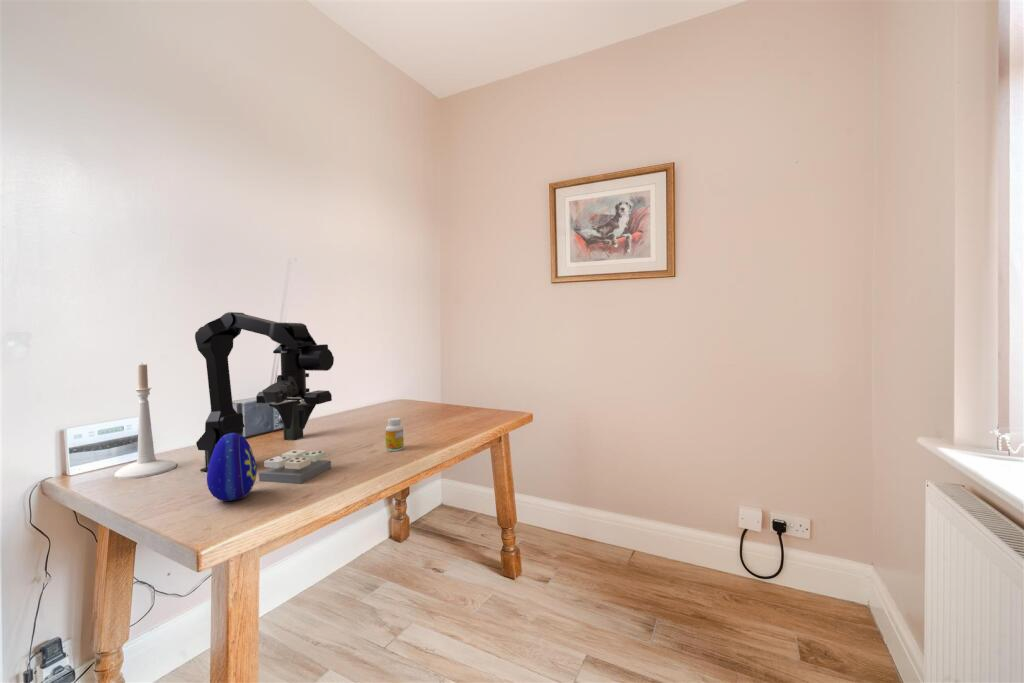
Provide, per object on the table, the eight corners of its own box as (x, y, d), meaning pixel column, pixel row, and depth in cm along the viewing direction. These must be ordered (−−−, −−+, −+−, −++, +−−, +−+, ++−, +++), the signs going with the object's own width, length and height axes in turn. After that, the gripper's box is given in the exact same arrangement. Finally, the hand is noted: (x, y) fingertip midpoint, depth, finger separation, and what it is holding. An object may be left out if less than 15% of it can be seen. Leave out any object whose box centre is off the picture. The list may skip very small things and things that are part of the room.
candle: (282, 439, 145) (279, 368, 144) (292, 436, 150) (290, 367, 149) (295, 440, 144) (293, 369, 143) (304, 436, 149) (302, 367, 148)
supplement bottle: (382, 449, 131) (382, 419, 131) (397, 445, 135) (397, 416, 135) (391, 452, 127) (391, 421, 127) (406, 448, 131) (406, 418, 131)
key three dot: (301, 460, 110) (301, 454, 110) (312, 456, 114) (312, 450, 114) (315, 461, 109) (315, 455, 109) (325, 456, 113) (325, 450, 113)
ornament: (250, 504, 90) (248, 436, 90) (200, 511, 87) (198, 441, 86) (261, 487, 100) (260, 426, 100) (217, 492, 97) (215, 429, 97)
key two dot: (264, 467, 105) (264, 460, 105) (277, 461, 109) (276, 455, 109) (278, 467, 104) (278, 461, 104) (290, 462, 108) (290, 456, 108)
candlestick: (160, 476, 109) (156, 363, 108) (101, 481, 106) (96, 365, 105) (185, 461, 122) (181, 360, 121) (133, 465, 118) (129, 361, 118)
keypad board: (259, 480, 105) (258, 473, 105) (293, 465, 116) (293, 458, 116) (300, 483, 102) (300, 475, 102) (330, 467, 114) (330, 460, 114)
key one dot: (282, 459, 111) (281, 453, 111) (293, 455, 115) (293, 449, 115) (295, 460, 110) (295, 454, 110) (306, 455, 114) (306, 449, 114)
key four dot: (284, 468, 104) (284, 461, 104) (296, 462, 108) (296, 456, 108) (299, 469, 103) (299, 462, 103) (310, 463, 107) (310, 457, 107)
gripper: (237, 373, 102) (239, 435, 103) (302, 374, 99) (304, 438, 99) (272, 369, 113) (273, 425, 114) (332, 369, 110) (333, 427, 110)
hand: (295, 429), depth 109 cm, fingers open, 4 cm apart
